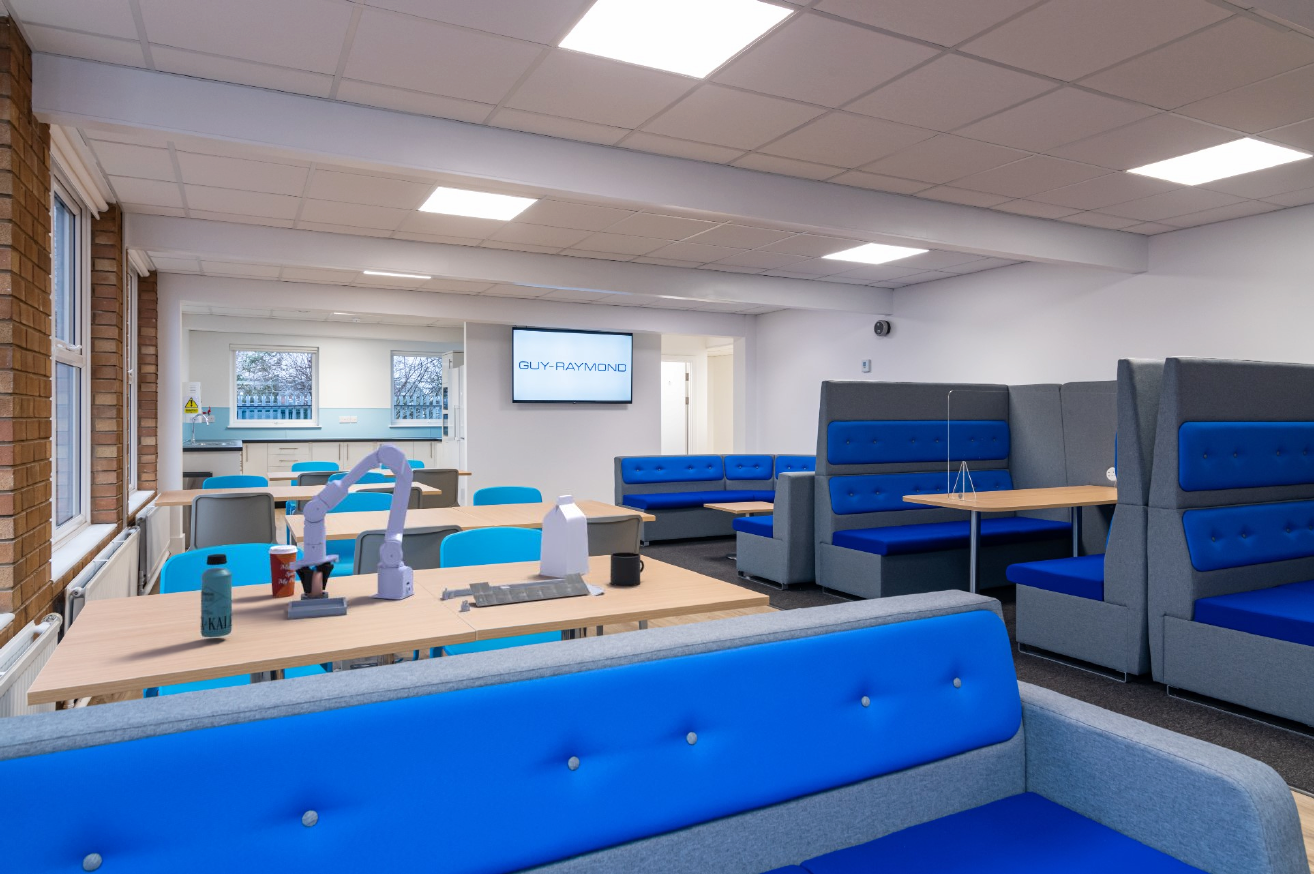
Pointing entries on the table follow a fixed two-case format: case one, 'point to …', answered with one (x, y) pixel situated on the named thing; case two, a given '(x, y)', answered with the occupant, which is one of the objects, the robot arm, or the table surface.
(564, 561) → the milk
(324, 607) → the tray
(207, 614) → the beverage bottle
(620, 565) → the mug
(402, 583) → the robot arm
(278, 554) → the paper cup
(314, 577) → the peg
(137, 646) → the table surface
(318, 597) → the sleeve
